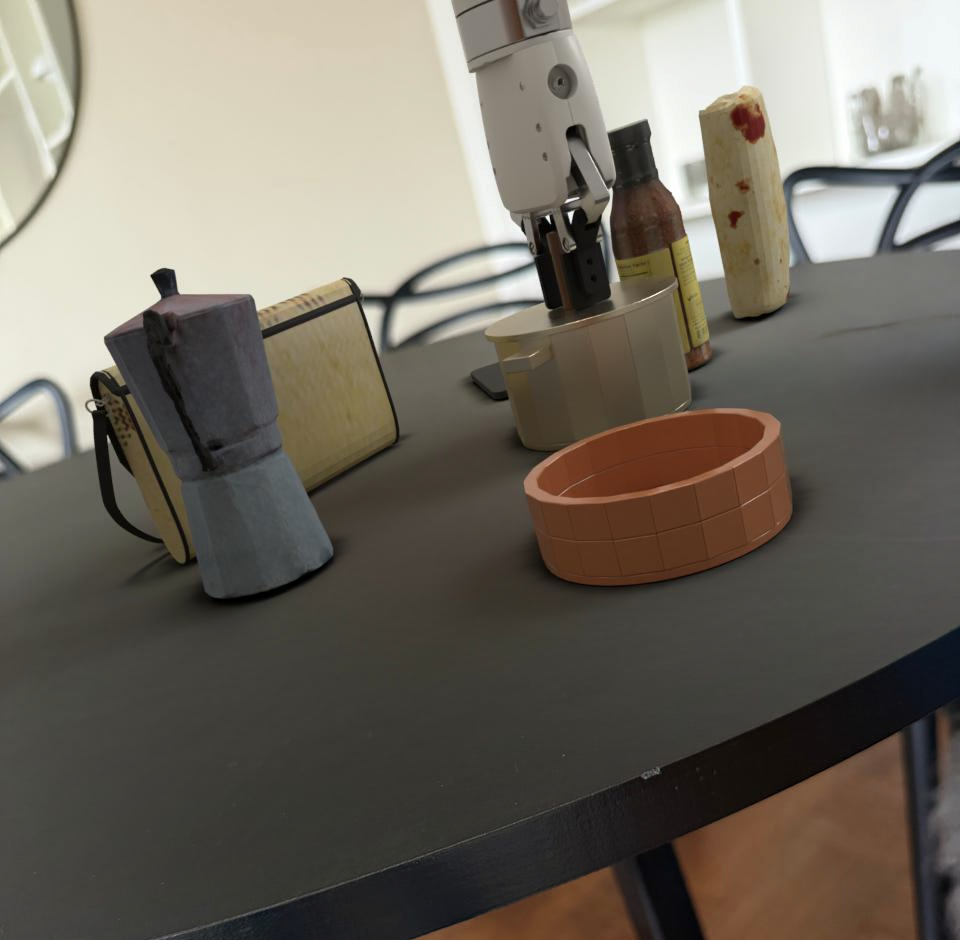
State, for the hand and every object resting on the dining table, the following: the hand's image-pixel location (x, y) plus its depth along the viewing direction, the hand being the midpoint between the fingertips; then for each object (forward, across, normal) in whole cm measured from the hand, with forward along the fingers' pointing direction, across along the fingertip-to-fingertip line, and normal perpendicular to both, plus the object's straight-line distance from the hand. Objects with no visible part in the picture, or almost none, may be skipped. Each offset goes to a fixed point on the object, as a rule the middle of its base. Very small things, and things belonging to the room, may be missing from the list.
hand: (578, 301), depth 77 cm
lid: (+1, 0, 0) cm, 1 cm away
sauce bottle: (+9, +6, -11) cm, 16 cm away
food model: (+9, +15, -27) cm, 32 cm away
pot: (+9, 0, 0) cm, 9 cm away
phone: (+9, +26, -5) cm, 28 cm away
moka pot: (+9, -5, +29) cm, 31 cm away
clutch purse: (+9, +14, +24) cm, 29 cm away
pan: (+9, -25, +11) cm, 29 cm away
